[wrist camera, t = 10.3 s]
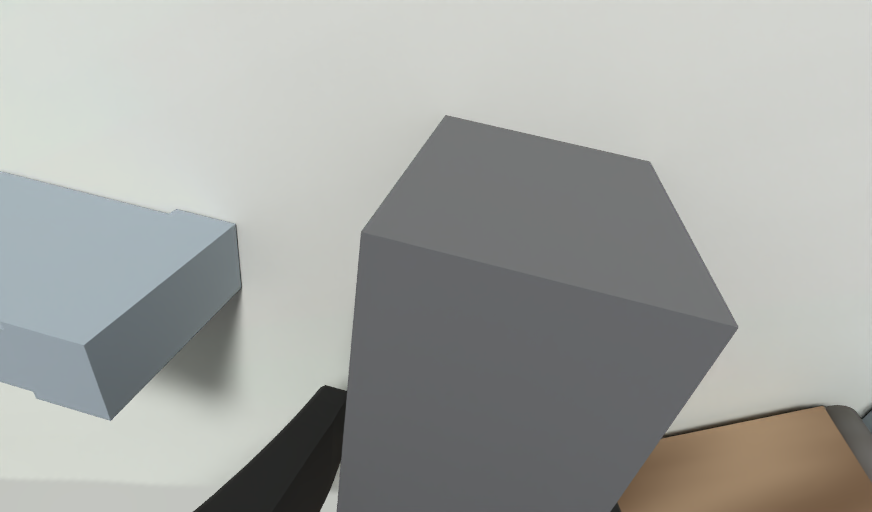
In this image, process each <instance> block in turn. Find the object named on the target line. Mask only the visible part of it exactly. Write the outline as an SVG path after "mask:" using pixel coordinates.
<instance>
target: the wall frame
mask: <svg viewBox="0 0 872 512" xmlns="http://www.w3.org/2000/svg"><path fill="white" fill-rule="evenodd" d="M240 288H241V278H240V268H239V257H238V247H237V236H236V225H235V224H234V223H230V222H226V221H222V220H218V219H214V218H210V217H206V216H202V215H198V214H194V213H190V212H186V211H182V210H178V209H176V210H174V211H173V212H171V213H170V214H167V213H163V212H159V211H155V210H151V209H147V208H144V207H140V206H136V205H132V204H128V203H124V202H120V201H116V200H112V199H108V198H104V197H100V196H96V195H92V194H88V193H84V192H80V191H76V190H72V189H68V188H64V187H60V186H56V185H52V184H48V183H44V182H40V181H37V180H33V179H29V178H25V177H21V176H17V175H13V174H9V173H5V172H1V171H0V382H3V383H6V384H10V385H13V386H16V387H20V388H23V389H26V390H30V391H33V392H34V394H35V397H36V398H37V399H40V400H43V401H47V402H50V403H53V404H57V405H60V406H63V407H67V408H70V409H73V410H77V411H80V412H83V413H87V414H90V415H93V416H96V417H100V418H103V419H106V420H110V421H111V420H112V419H113V418H114V417H115V416H116V415H117V414H118V413H119V412H120V411H121V410H122V409H123V408H124V407H125V406H126V405H127V404H128V403H129V402H130V401H131V400H132V399H133V398H134V396H135V395H136V394H137V393H138V392H139V391H140V390H141V389H142V388H143V387H144V386H145V385H146V384H147V383H148V382H149V381H150V380H151V379H152V378H153V377H154V376H155V375H156V374H157V373H158V372H159V371H160V370H161V369H162V368H163V367H164V366H165V365H166V364H167V363H168V362H169V361H170V360H171V359H172V358H173V357H174V356H175V355H176V354H177V353H178V352H179V351H180V350H181V349H182V347H183V346H184V345H185V344H186V343H187V342H188V341H189V340H190V339H191V338H192V337H193V336H194V335H195V334H196V333H197V332H198V331H199V330H200V329H201V328H202V327H203V326H204V325H205V324H206V323H207V322H208V321H209V320H210V319H211V318H212V317H213V316H214V315H215V314H216V313H217V312H218V311H219V310H220V309H221V308H222V307H223V306H224V305H225V304H226V303H227V302H228V301H229V300H230V298H231V297H232V296H233V295H234V294H235V293H236V292H237V291H238V290H239V289H240ZM862 421H863V422H864V423H865V425H866V426H867V428H868V429H869V431H870V432H871V433H872V411H871V412H869V413H868V414H867V415H866V416H865V417H864V418H863V419H862Z"/></svg>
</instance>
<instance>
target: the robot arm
mask: <svg viewBox="0 0 872 512" xmlns="http://www.w3.org/2000/svg"><path fill="white" fill-rule="evenodd" d="M346 400H347V391H345V390H341V389H337V388H334V387H330V386H327V385H325V386H323V387H321V388H320V389H319V390H318V391H317V392H316V394H315V395H314V396H313V397H312V398H311V399H310V400H309V402H308V403H307V404H306V405H305V406H304V407H303V408H302V409H301V411H300V412H299V413H298V414H297V415H296V416H295V417H294V418H293V419H292V420H291V421H290V422H289V423H288V424H287V425H286V427H285V428H284V429H283V430H282V431H281V432H280V433H279V434H278V435H277V436H276V437H275V438H274V439H273V440H272V441H271V442H270V443H269V444H268V445H267V446H266V447H265V448H264V449H263V450H261V451H260V452H259V453H258V454H257V455H256V456H255V457H254V458H253V459H252V460H251V461H250V462H249V463H248V464H247V465H246V466H245V467H244V468H243V469H242V470H240V471H239V472H238V473H237V474H236V475H235V476H234V477H233V478H231V479H230V480H229V481H228V482H227V483H226V484H225V485H224V486H223V487H221V488H220V489H219V490H218V491H217V492H216V493H215V494H214V495H212V496H211V497H210V498H209V499H208V500H207V501H205V502H204V503H203V504H202V505H201V506H199V507H198V508H197V509H196V510H195V511H193V512H320V510H321V508H322V506H323V504H324V502H325V500H326V497H327V495H328V493H329V491H330V489H331V486H332V483H333V481H334V478H335V475H336V473H337V470H338V467H339V464H340V462H341V457H342V446H343V434H344V423H345V411H346ZM611 512H621V510H620V507H619V505H618V502H617V503H616V504H615V506H614V507H613V509H612V510H611Z"/></svg>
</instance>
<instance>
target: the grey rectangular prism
mask: <svg viewBox="0 0 872 512" xmlns="http://www.w3.org/2000/svg"><path fill="white" fill-rule="evenodd" d="M737 329H738V325H737V324H736V322H735V320H734V318H733V316H732V314H731V312H730V310H729V309H728V307H727V305H726V303H725V301H724V299H723V297H722V296H721V294H720V292H719V290H718V288H717V286H716V284H715V282H714V281H713V279H712V277H711V275H710V273H709V271H708V269H707V268H706V266H705V264H704V262H703V260H702V258H701V256H700V254H699V253H698V251H697V249H696V247H695V245H694V243H693V241H692V239H691V238H690V236H689V234H688V232H687V230H686V228H685V226H684V225H683V223H682V221H681V219H680V217H679V215H678V213H677V211H676V210H675V208H674V206H673V204H672V202H671V200H670V198H669V196H668V195H667V193H666V191H665V189H664V187H663V185H662V183H661V182H660V180H659V178H658V176H657V174H656V172H655V170H654V168H653V167H652V165H651V163H650V162H649V161H645V160H640V159H636V158H631V157H627V156H623V155H618V154H614V153H609V152H605V151H601V150H596V149H592V148H587V147H583V146H579V145H574V144H570V143H565V142H561V141H557V140H552V139H548V138H543V137H539V136H535V135H530V134H526V133H521V132H517V131H513V130H508V129H504V128H499V127H495V126H491V125H486V124H482V123H477V122H473V121H469V120H464V119H460V118H456V117H451V116H447V115H445V117H444V118H443V120H442V121H441V122H440V124H439V125H438V126H437V128H436V129H435V131H434V132H433V133H432V135H431V136H430V137H429V139H428V140H427V142H426V143H425V144H424V146H423V147H422V149H421V150H420V151H419V153H418V154H417V155H416V157H415V158H414V160H413V161H412V162H411V164H410V165H409V166H408V168H407V169H406V171H405V172H404V173H403V175H402V176H401V178H400V179H399V180H398V182H397V183H396V184H395V186H394V187H393V189H392V190H391V191H390V193H389V194H388V195H387V197H386V198H385V200H384V201H383V202H382V204H381V205H380V207H379V208H378V209H377V211H376V212H375V213H374V215H373V216H372V218H371V219H370V220H369V222H368V223H367V224H366V226H365V227H364V229H363V230H362V231H361V239H360V251H359V262H358V274H357V285H356V297H355V308H354V320H353V331H352V343H351V354H350V366H349V377H348V388H347V400H346V411H345V423H344V434H343V446H342V457H341V469H340V480H339V492H338V504H337V512H611V510H612V509H613V507H614V506H615V504H616V503H617V501H618V500H619V499H620V497H621V496H622V494H623V493H624V491H625V490H626V489H627V487H628V486H629V484H630V483H631V481H632V480H633V478H634V477H635V476H636V474H637V473H638V471H639V470H640V468H641V467H642V466H643V464H644V463H645V461H646V460H647V458H648V457H649V455H650V454H651V453H652V451H653V450H654V448H655V447H656V445H657V444H658V443H659V441H660V440H661V438H662V437H663V435H664V434H665V432H666V431H667V430H668V428H669V427H670V425H671V424H672V422H673V421H674V420H675V418H676V417H677V415H678V414H679V412H680V411H681V409H682V408H683V407H684V405H685V404H686V402H687V401H688V399H689V398H690V396H691V395H692V394H693V392H694V391H695V389H696V388H697V386H698V385H699V384H700V382H701V381H702V379H703V378H704V376H705V375H706V373H707V372H708V371H709V369H710V368H711V366H712V365H713V363H714V362H715V361H716V359H717V358H718V356H719V355H720V353H721V352H722V350H723V349H724V348H725V346H726V345H727V343H728V342H729V340H730V339H731V338H732V336H733V335H734V333H735V332H736V330H737Z"/></svg>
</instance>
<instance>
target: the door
mask: <svg viewBox="0 0 872 512" xmlns="http://www.w3.org/2000/svg"><path fill="white" fill-rule="evenodd" d="M617 502H618V505H619V507H620V510H621V512H872V433H871V432H870V431H869V429H868V428H867V426H866V425H865V423H864V422H863V421H862V419H861V418H860V416H859V415H858V413H857V412H856V411H855V410H854V409H852V408H850V407H847V406H842V405H834V406H827V407H824V406H819V407H814V408H810V409H805V410H800V411H795V412H790V413H785V414H780V415H775V416H770V417H765V418H761V419H756V420H751V421H746V422H741V423H736V424H731V425H726V426H721V427H716V428H712V429H707V430H702V431H697V432H692V433H687V434H682V435H677V436H672V437H667V438H663V439H661V440H660V441H659V443H658V444H657V445H656V447H655V448H654V450H653V451H652V453H651V454H650V455H649V457H648V458H647V460H646V461H645V463H644V464H643V466H642V467H641V468H640V470H639V471H638V473H637V474H636V476H635V477H634V478H633V480H632V481H631V483H630V484H629V486H628V487H627V489H626V490H625V491H624V493H623V494H622V496H621V497H620V499H619V500H618V501H617Z"/></svg>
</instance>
